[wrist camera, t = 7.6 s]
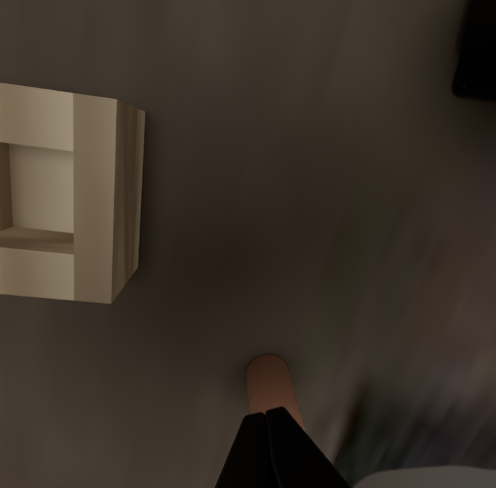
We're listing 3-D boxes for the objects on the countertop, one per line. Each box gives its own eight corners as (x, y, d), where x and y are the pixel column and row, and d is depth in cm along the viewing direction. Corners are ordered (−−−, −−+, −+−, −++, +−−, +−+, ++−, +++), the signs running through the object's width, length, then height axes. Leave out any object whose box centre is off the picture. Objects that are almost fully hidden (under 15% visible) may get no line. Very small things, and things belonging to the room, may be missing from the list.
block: (145, 111, 17) (116, 99, 12) (137, 267, 19) (111, 303, 14) (-78, 80, 16) (-195, 54, 11) (-60, 247, 18) (-152, 280, 13)
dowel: (291, 356, 21) (329, 479, 13) (284, 392, 21) (317, 529, 14) (249, 352, 21) (261, 475, 13) (243, 389, 21) (252, 527, 14)
